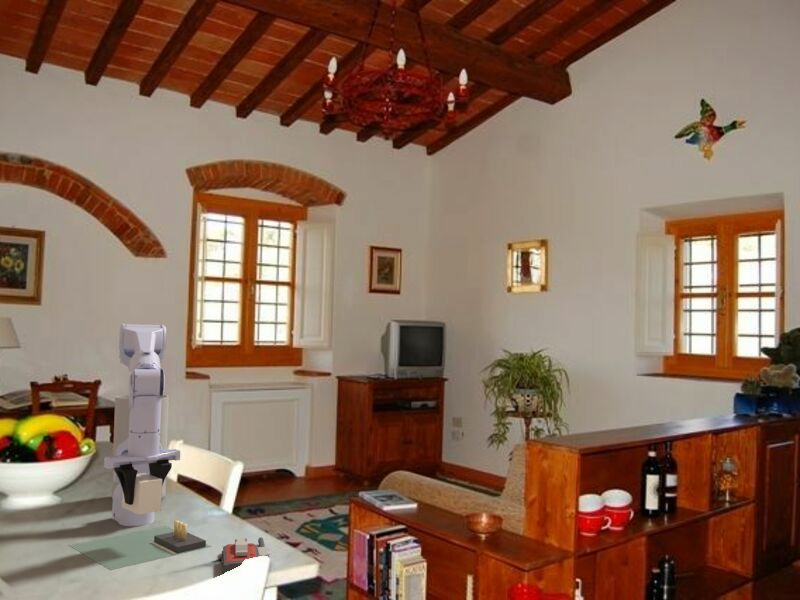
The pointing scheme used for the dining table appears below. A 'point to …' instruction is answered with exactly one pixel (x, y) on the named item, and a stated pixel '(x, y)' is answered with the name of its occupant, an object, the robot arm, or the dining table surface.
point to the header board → (141, 546)
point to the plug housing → (145, 495)
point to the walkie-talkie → (241, 553)
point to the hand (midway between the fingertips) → (141, 501)
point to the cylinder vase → (123, 427)
